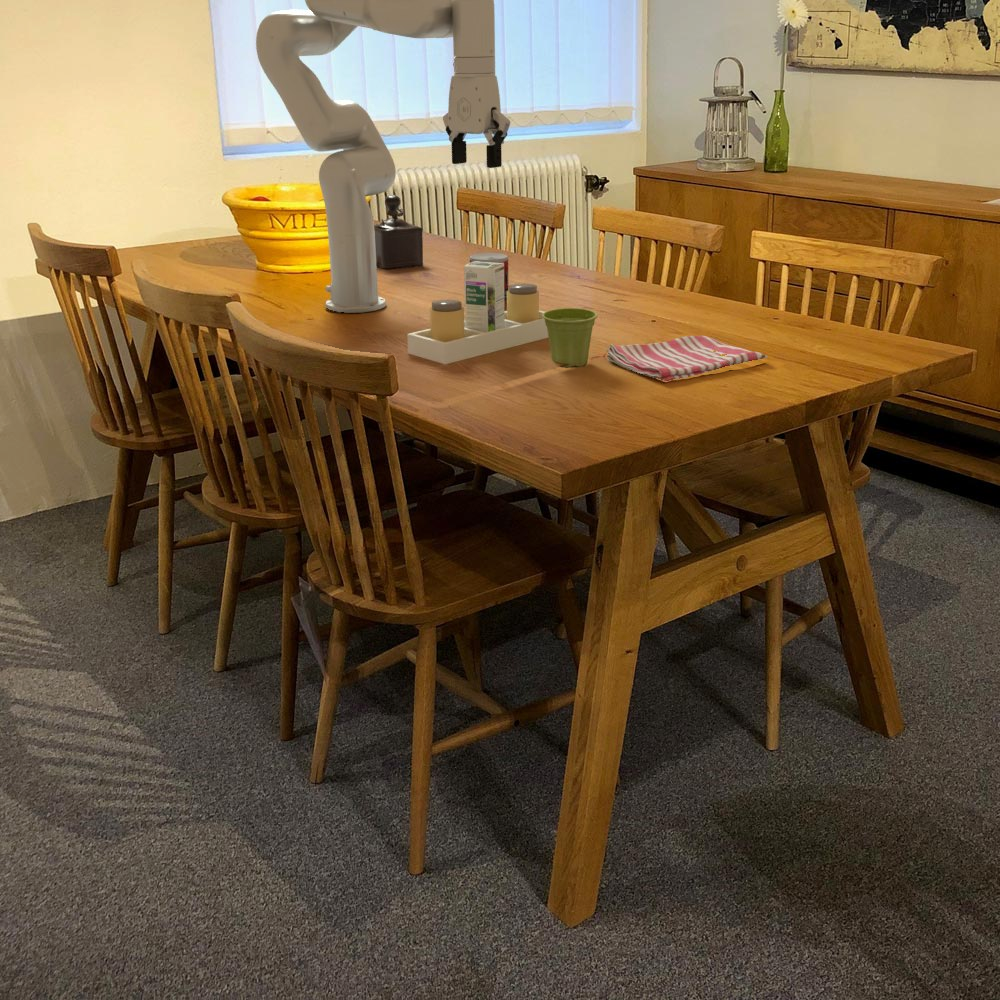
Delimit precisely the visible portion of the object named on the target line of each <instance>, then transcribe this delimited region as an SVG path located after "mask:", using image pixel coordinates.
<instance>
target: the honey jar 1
mask: <svg viewBox="0 0 1000 1000" xmlns="http://www.w3.org/2000/svg"><path fill="white" fill-rule="evenodd" d="M464 321H465V306H462V301H461V300H457V299H438V300H434V301H432V302H431V307H430V308H429V329H430V332H431V339H434V340H438V341H441V342H449V341H453V340H457V339H461V338H465V331H464Z"/></svg>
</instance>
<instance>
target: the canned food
mask: <svg viewBox="0 0 1000 1000" xmlns="http://www.w3.org/2000/svg"><path fill="white" fill-rule="evenodd" d="M468 261H469V263H471V262H475V261H479V262H492V263H504V309H507V291H508V290H509V255H507V254H504V253H499V252H498V253H497V252H481V253H479V252H478V253H475V254H474V253H473V254H472V255H470V256H469V259H468Z"/></svg>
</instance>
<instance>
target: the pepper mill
mask: <svg viewBox="0 0 1000 1000" xmlns="http://www.w3.org/2000/svg"><path fill="white" fill-rule="evenodd" d="M401 201H402V200H401V198H400V197H399V196H397V194H389V195H387V196H386V197H385V199H384V205H385V206H386V207H387V211H386V215H387V216H389V217H390V218H389V217H388V218H386V219H385V220H384V219H383V218H381V219H380V220H381V222H380V223H377V224H374V231H375V248H376V266H377V268H381V269H384V270H385V269H386V270H397V269H396V268H399V269H407V267H408V268H415V266H417V267H422V265H423V266H424V262H423V261H424V256H423V255H424V251H423V250H424V247H423V246H424V244H423V243H424V242H423V228H422V227H420V226H417V225H415V224H412V223H409V222H408V221H406V220H405V219H402V218H400V217H402V216H403V217H404V215H405V210H404V209H403V208H402V207H401ZM398 217H399V218H398Z"/></svg>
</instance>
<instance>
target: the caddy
mask: <svg viewBox="0 0 1000 1000" xmlns="http://www.w3.org/2000/svg"><path fill="white" fill-rule="evenodd" d="M544 312H545V311H543V310H539V320H535V321H531V322H527V323H519V322H514V321H510V320H507V310H504V316H505V328H502V329H498V330H494V331H490V332H486V333H484V332H480V331H476V330H472V329H468V328H465V320H464V331H465V338H461V339H457V340H453V341H449V342H441V341H438V340H434V339H431V332H430V328H427V329H423V330H418V331H415V332H410V333H407V334H406V336H407V354H408V355H413V356H416V357H420V358H422V359H425V360H428V361H432V362H436V363H439V364H442V365H447V364H448V365H449V364H452V363H456V362H459V361H463V360H467V359H471V358H474V357H478V356H482V355H487V354H491V353H494V352H498V351H501V350H502V351H503V350H506V349H509V348H513V347H517V346H520V345H524V344H525V345H526V344H528V343H532V342H537V341H540V340H544V339H549V336H548V330H547V326H546V324H545V319H544V318H543V317H542V314H543V313H544Z"/></svg>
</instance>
